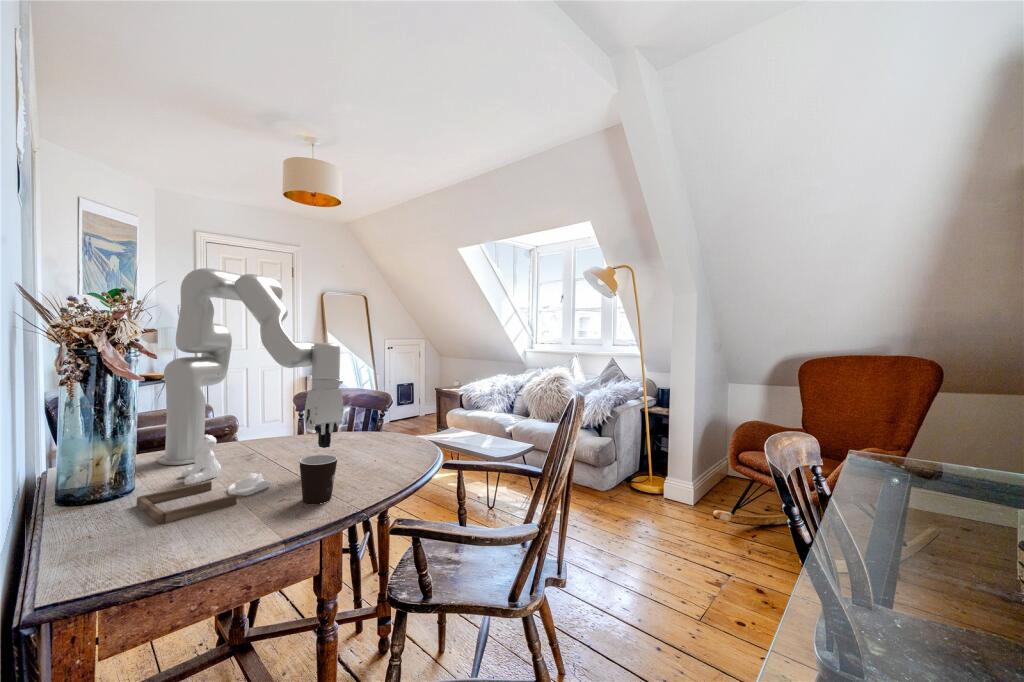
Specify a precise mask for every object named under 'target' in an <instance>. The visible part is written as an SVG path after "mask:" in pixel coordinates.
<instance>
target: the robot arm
mask: <svg viewBox="0 0 1024 682" xmlns="http://www.w3.org/2000/svg"><path fill="white" fill-rule="evenodd" d="M211 298H215V299H216V298H217V299H224V300H232V301H240V302H242V303H243V304H244V305H245V307H246V308H247V309H248V311H249V312H250V313H251V315H252V316H253V317H254V319H255V320H256V322H258V323H257V324H259V332H260V339H261V342H262V346H263V348H265V349H266V351H267V353H268V354H269V355H270V356H271V357H272V359H273V360H274V361H275V362H276V363H277V364H278V365H280V366H281V367H283V368H287V369H292V368H293V369H294V368H295V369H296V368H305V367H311V389H309V390H308V391H307V395H306V399H305V400H306V401H305V407H304V419H303V420H304V423H306V429H307V430H314V432H316V434H317V435H318V438H317V441H318V443H317V444H318V446H319V448H323V449H326V448H330V447H331V439H332V438H331V437H332V433H333V432H334V430H335V428H336V427H337V426H340V425H342V424H343V418H344V398H343V392H342V389H341V388H340V386H341V385H342V384H343V380H342V379H340V373H341V372H340V368H341V364H340V363H341V347H340V345H339V344H338V343H335V342H313V341H293V340H292V339H291V337H289V335H288V334H287V332H286V331H285V330H284V328H283V326H282V325H283V324H282V323H283V321H285V320H286V318H287V316H288V314H289V312H288V311H289V310H288V309H287V308H286V307H285V305H284V304H283V302H281V299H282V298H283V288H282V285H281V284H280V283H279V281H277V280H276V279H274V278H272V277H268V276H264V275H263V276H262V275H259V274H255V273H254V274H253V273H249V274H248V273H247V274H238V273H235V272H230V271H226V270H220V269H215V268H205V267H203V268H197V269H193V270H191V271H189V273H187V275H185V276H184V278H183V279H182V281H181V284H180V309H179V314H178V320H177V328H176V333H175V334H176V335H175V345H176V348H177V349H178V350H179V351H180V352H183V353H188V354H201V356H186V357H185V356H183V357H179V358H174V359H173V360H171V361H170V362H168V363H167V364H166V365H165V367H164V369H163V370H164V371H163V378H164V383H165V389H166V390H165V391H166V421H165V422H166V423H165V425H166V426H165V445H164V446H165V448H164V449H165V450H164V451H165V452H164V454H162V455H161V456H159V457H158V459H157V462H158V463H159V464H161V465H165V466H177V465H179V466H180V465H188V464H189V465H190V464H195V458H196V456H197V453H198V450H197V449H196V448H197V446H198V444H199V443H198V442H199V441H201V440H202V439H203V436H204V435H205V428H206V405H207V403H206V397H205V394H204V393H203V390H202V389H201V387H207V386H214V385H217V384H219V383H222V382H223V380H225V379H226V376H227V373H228V370H229V364H230V358H231V351H232V347H233V346H232V344H233V338H232V333H231V331H230V330H229V329H228V328H227V326H225V325H223V324H220V323H214V315H215V308H214V304H213V302H212V300H211Z"/></svg>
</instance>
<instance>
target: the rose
mask: <svg viewBox="0 0 1024 682" xmlns="http://www.w3.org/2000/svg"><path fill="white" fill-rule="evenodd" d="M271 485H272V481H270V480H267V479H264V476H263V474H262V473H261V472H259V473H253V472H249V473H247V474H246V475H245V476H244V477H241V478H240V479H237V480H236V481H235V482H234V483H232V484H230V485H229V486H228V487H227V494H228V495H229V496H231V495H236V496H241V497H242V496H244V497H245V496H250V495H253V494H256V493H258V491H259V492H260V490H261V491H264V490H266V489H268V488H270V487H271ZM267 487H268V488H267ZM265 488H266V489H265ZM263 489H264V490H263ZM255 492H256V493H255Z"/></svg>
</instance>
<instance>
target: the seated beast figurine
mask: <svg viewBox="0 0 1024 682" xmlns="http://www.w3.org/2000/svg"><path fill="white" fill-rule="evenodd" d="M217 441H218V440H217V438H216V437H214V435H211V434H208V433H207V434H204V436H203V439H202V440H201V441H199V442H198V443H199V444H198V446H197V448H196V449H197V450H198V453H197V456H196V458H195V463H193V466H191V467H187V468H185V469H183V470H182V471H181V475H180V476H181V478H184V479H183V480H184V481H183V483H184V486H190V485H195V484H200V483H203V482H207V481H208V480H211V479H212V478H213V479H215V478H216V477H217V476H218V475H220V473H221V471H222V465H221V464H220V462H219V460H217V458H216V457H215V452H214V451H213V450H214V449H215V448H216V444H217ZM202 481H203V482H202Z"/></svg>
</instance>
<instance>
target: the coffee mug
mask: <svg viewBox="0 0 1024 682" xmlns="http://www.w3.org/2000/svg"><path fill="white" fill-rule="evenodd" d="M338 459H339V458H338V457H337V455H336V456H335V455H333V454H314V455H308V456H303V457H302V458H300V459H299V461H298V462H299V470H300V471H299V472H300V482H301V483H300V484H301V496H302V503H303V502H304V503H303V504H305V503H306V504H305V505H308V504H318V505H321V504H320V503H323V504H325V503H324V502H326V503H328V502H330V501H331V500H332V497H333V496H332V495H333V489H334V482H335V478H336V477H335V476H336V471H337V465H338ZM330 499H331V500H330ZM329 500H330V501H329ZM327 501H328V502H327Z"/></svg>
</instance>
